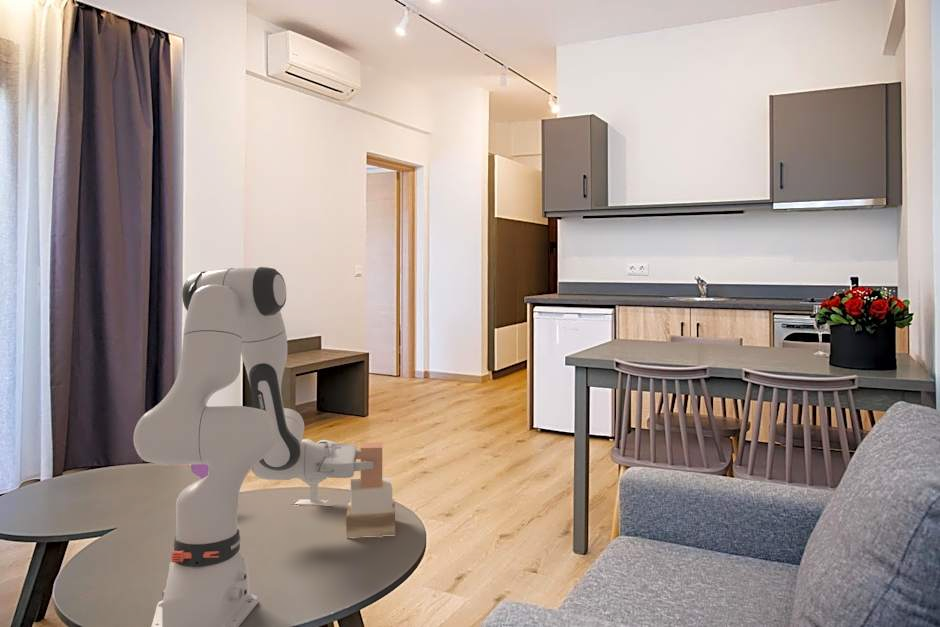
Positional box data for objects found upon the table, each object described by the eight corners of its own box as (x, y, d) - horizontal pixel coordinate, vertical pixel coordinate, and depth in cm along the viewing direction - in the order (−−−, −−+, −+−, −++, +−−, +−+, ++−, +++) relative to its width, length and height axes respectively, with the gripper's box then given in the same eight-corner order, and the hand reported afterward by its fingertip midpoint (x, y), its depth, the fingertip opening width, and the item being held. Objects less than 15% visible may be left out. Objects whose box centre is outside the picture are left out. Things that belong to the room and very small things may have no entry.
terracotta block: (382, 486, 174) (382, 447, 174) (360, 487, 174) (360, 448, 173) (382, 480, 180) (382, 442, 179) (361, 481, 179) (361, 443, 179)
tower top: (392, 512, 173) (392, 488, 173) (351, 514, 171) (351, 490, 171) (389, 499, 183) (389, 477, 183) (350, 502, 181) (350, 479, 181)
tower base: (395, 537, 172) (395, 514, 172) (346, 539, 171) (346, 515, 170) (394, 521, 184) (394, 499, 184) (348, 523, 183) (348, 500, 182)
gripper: (314, 459, 164) (372, 457, 166) (322, 439, 185) (374, 438, 186) (314, 485, 165) (372, 483, 166) (322, 463, 185) (374, 461, 187)
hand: (373, 459), depth 176 cm, fingers open, 8 cm apart
